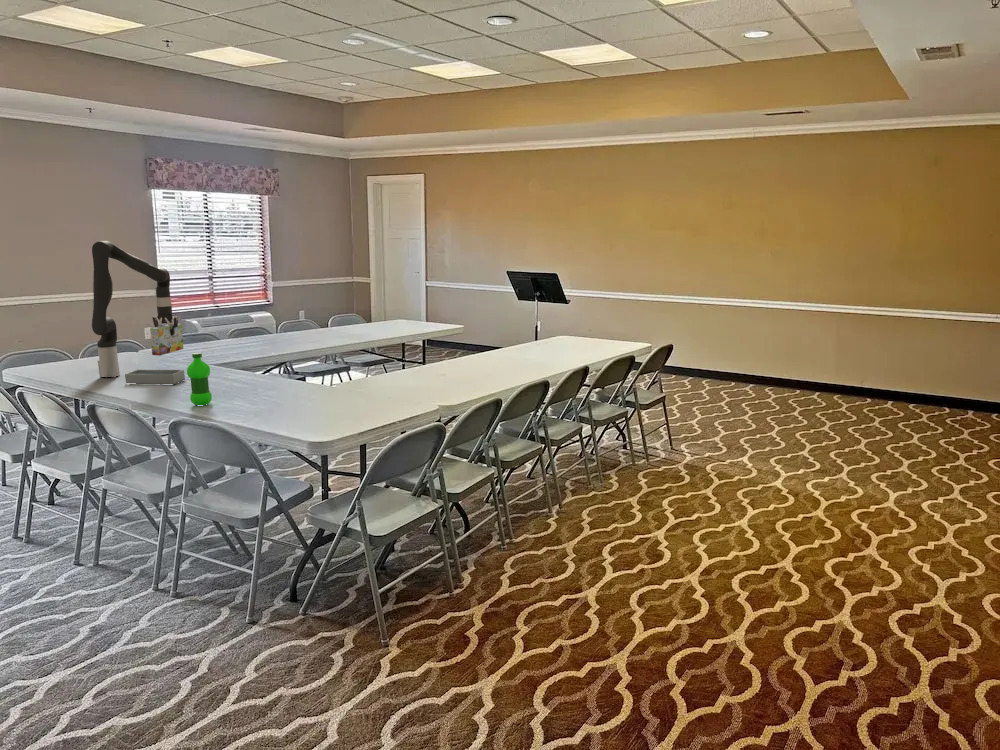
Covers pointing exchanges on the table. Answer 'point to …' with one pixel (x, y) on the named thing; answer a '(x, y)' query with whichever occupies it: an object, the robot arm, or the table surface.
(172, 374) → the bin
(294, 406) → the table surface
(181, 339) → the snack box
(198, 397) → the plastic bottle
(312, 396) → the table surface
